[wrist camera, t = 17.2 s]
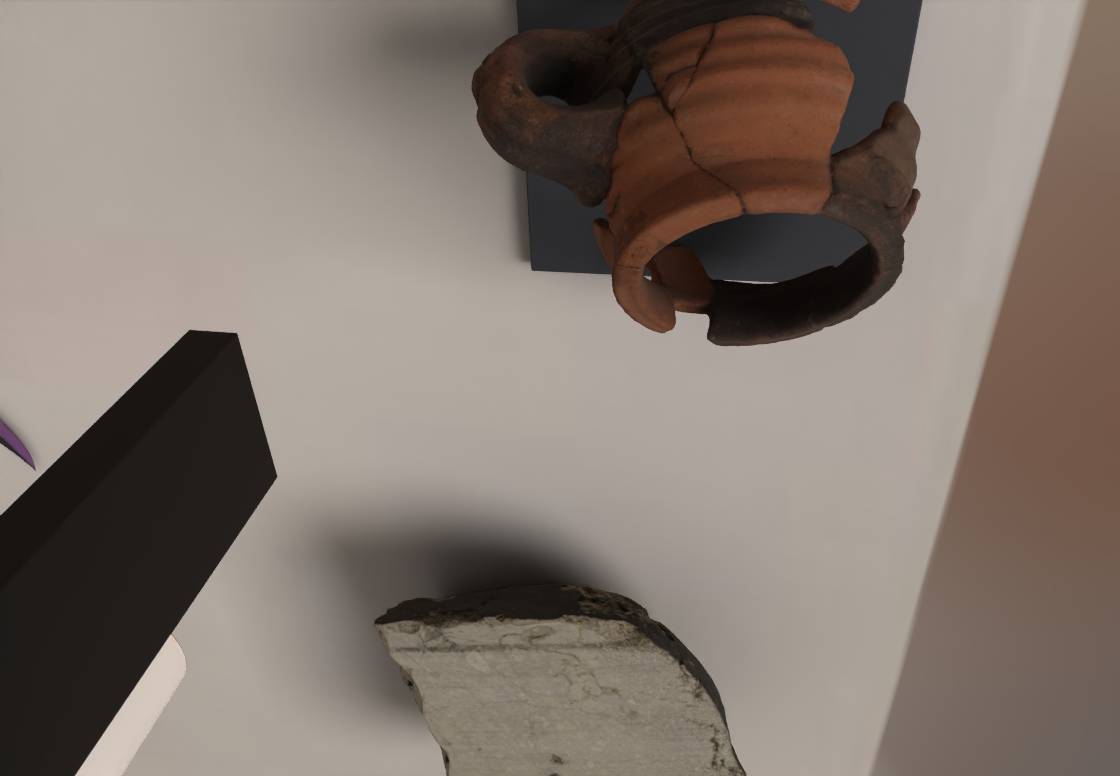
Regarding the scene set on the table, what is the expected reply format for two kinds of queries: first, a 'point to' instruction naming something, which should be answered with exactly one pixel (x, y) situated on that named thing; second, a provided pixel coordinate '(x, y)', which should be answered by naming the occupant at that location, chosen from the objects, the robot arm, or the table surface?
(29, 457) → the knife
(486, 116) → the pottery mug
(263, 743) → the table surface
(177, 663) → the mug
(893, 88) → the mat
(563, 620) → the concrete fragment
